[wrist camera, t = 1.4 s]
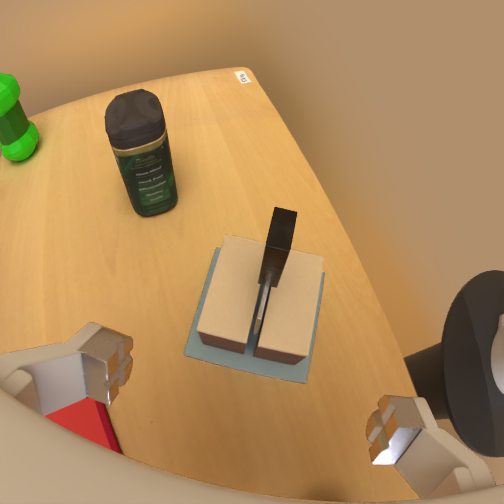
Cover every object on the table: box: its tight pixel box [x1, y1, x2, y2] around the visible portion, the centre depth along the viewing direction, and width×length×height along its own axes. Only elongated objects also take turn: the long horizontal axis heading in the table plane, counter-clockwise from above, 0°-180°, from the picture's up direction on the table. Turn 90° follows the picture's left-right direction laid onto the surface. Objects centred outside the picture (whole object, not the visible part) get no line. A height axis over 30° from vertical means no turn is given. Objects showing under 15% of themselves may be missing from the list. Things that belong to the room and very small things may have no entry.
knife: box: [253, 207, 297, 335], centre depth 29 cm, size 10×2×13 cm, turn 167°
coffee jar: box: [105, 89, 177, 216], centre depth 43 cm, size 10×8×19 cm
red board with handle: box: [44, 396, 122, 454], centre depth 27 cm, size 30×3×15 cm
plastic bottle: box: [0, 73, 39, 161], centre depth 44 cm, size 10×10×25 cm
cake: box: [184, 234, 325, 384], centre depth 39 cm, size 16×16×9 cm
